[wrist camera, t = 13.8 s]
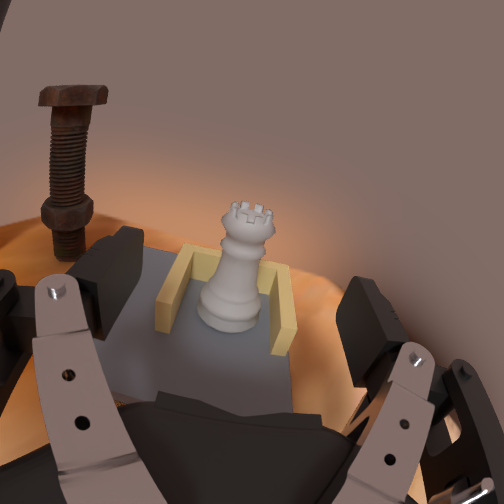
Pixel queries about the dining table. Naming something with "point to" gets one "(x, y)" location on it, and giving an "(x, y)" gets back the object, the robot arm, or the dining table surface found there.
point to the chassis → (200, 339)
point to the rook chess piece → (237, 271)
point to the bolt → (69, 166)
